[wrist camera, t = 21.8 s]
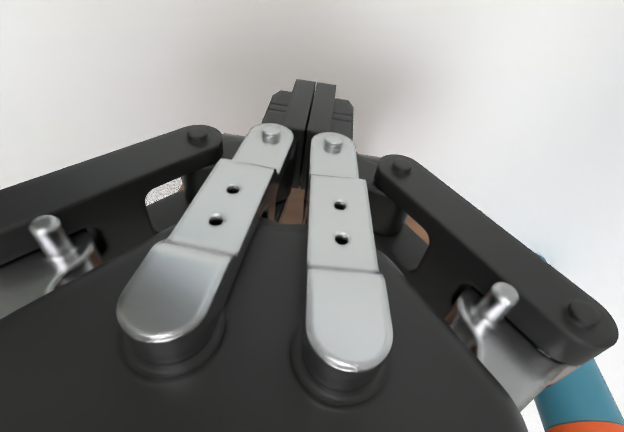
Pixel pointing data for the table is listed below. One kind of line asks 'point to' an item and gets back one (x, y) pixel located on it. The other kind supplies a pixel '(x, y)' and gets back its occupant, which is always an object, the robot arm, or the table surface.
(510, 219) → the table surface
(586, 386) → the glue stick
